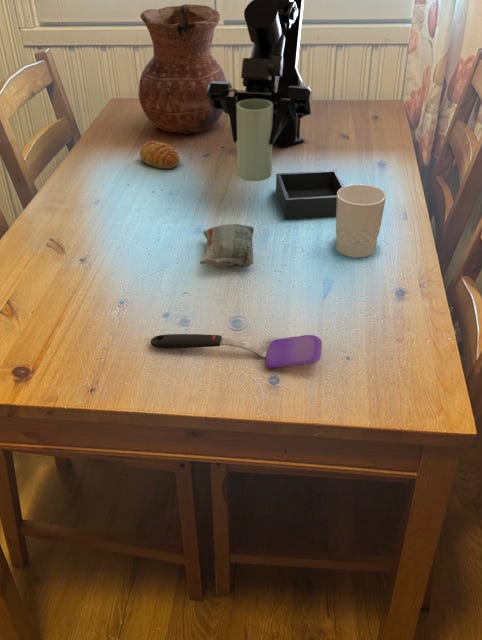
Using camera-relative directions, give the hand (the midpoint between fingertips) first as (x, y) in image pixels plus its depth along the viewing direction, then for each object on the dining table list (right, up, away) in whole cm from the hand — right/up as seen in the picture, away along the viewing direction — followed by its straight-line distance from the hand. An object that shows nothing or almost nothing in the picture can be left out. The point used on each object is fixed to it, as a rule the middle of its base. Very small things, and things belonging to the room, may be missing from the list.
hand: (252, 142), depth 124 cm
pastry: (-19, +4, +26) cm, 32 cm away
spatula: (-4, -38, -28) cm, 48 cm away
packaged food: (-5, -22, -7) cm, 24 cm away
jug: (-15, +18, +44) cm, 50 cm away
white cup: (+17, -20, -6) cm, 27 cm away
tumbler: (+1, -4, +5) cm, 7 cm away
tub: (+12, -9, +8) cm, 17 cm away
